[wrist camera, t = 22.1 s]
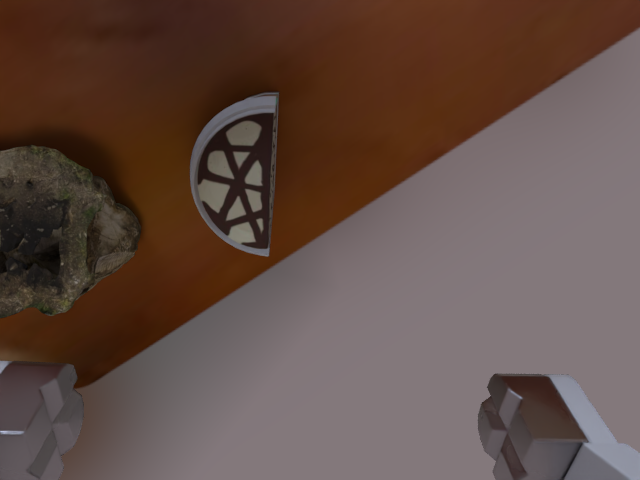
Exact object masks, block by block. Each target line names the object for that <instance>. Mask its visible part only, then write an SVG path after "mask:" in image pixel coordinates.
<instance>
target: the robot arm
mask: <svg viewBox="0 0 640 480" xmlns="http://www.w3.org/2000/svg"><path fill="white" fill-rule="evenodd" d="M76 380H77V375H76V372H75V368H74V365H71V364H66V363H46V362H25V361H0V480H59V478H60V476H61V473H62V471H63V469H64V466H63V463H62V459H61V456H62V455H63V454H64V453H66V452H67V451H68V450H70V449H71V448H72V447H73V446H74V445H75V443H76V440H77V438H78V436H79V434H80V431H81V426H82V421H83V417H84V404H83V400H82V395H81V394H80V393H78V392H77V391H76V390H75V389H74V388H73V386H74V384H75V382H76ZM487 388H488V390H489V393H490V395H491V396H490V397H489V398H488V399H486V400H485V401H484V402H482V404H481V407H480V411H479V414H478V430H479V435H480V440H481V442H482V445H483V448H484V450H485V452H486V453H487V454H489V455H490V456H491V457H492V458H493V459H494V460H496V464H495V466H494V469H493V474H494V476H495V479H496V480H640V453H639V452H637V451H636V450H634V449H633V448H632V447H630V446H629V445H627V444H621V443H618V442H617V441H616V439H615V438H614V436H613V435H612V433H611V432H610V430H609V429H608V427H607V426H606V424H605V423H604V421H603V420H602V418H601V417H600V416H599V414H598V413H597V411H596V410H595V408H594V407H593V405H592V404H591V402H590V401H589V399H588V398H587V396H586V395H585V393H584V392H583V390H582V389H581V388H580V386H579V385H578V383H577V382H576V380H575V379H574V378H573V377H571V376H570V375H554V374H544V375H541V374H494V375H493V376H492V377H491V379H490V381H489V384H488V387H487Z"/></svg>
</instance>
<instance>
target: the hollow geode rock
mask: <svg viewBox="0 0 640 480" xmlns="http://www.w3.org/2000/svg"><path fill="white" fill-rule="evenodd" d="M140 233H141V226H140V224H139V221H138V218H137V217H136V216H135V215H134V214H133V212H132V211H131V210H130V209H129V208H127V207H125V206H124V205H122V204H120V203H116V202H115V199H114V196H113V194H112V191H111V189H110V188H109V187H108V185H107V184H106V182H105V180H104V179H103V178H102V177H99V176H93V174H92V173H91V171H90V169H87V168H85V167H83V166H80V165H78V164H76V163H75V162H74V161H72V160H70V159H68V158H67V157H66V156H65V155H63V154H62V153H61V152H60V151H58V150H56V149H50V148H47V147H44V146H41V147H37V146H34V145H29V146H23V147H16V148H12V149H9V150H5V151H0V318H3V317H7V316H10V315H13V314H16V313H18V312H20V311H22V310H24V309H26V308H28V307H35V308H38V310H39V311H40V312H41V313H44V314H47V315H50V316H53V315H55V314H58V313H61V312H66V311H68V310H69V309H70V308H72V307H73V304H74V301H75V300H77V299H78V298H79V297H80V296H82V295H83V294H85V293H87V291H89V290H90V289H91V288H93V287H94V286H95V285H96V284H97V283H98V282H99V281H101V280H102V279H103V278H105V277H107V276H109V275H110V274H112V273H114V272H116V271H117V270H118V269H119V268H121V266H122V265H123V264H125V263H127V262H128V261H129V260H130V259H131V258H132V257H133V256H134V255H135V251H136V250H137V248H138V245H137V243H138V241H139V239H140Z"/></svg>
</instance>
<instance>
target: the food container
mask: <svg viewBox="0 0 640 480" xmlns="http://www.w3.org/2000/svg"><path fill="white" fill-rule="evenodd" d="M278 102H279V92H263V93H260V94H256V95H253V96H250V97H247V98H246V99H245V100H243V101H240V102H237V103H235V104H233V105H231V106H229V107H227V108H225V109H224V110H222V111H221V112H220V113H218V114H217V115H216V116H215V117H213V118H212V119H211V121H210V122H209V123H208V124H207V125H206V126H205V127H204V129H203V130H202V132H201V133H200V135H199V137H198V138H197V141H196V143H195V146H194V148H193V151H192V156H191V161H190V182H191V189H192V195H193V198H194V201H195V204H196V206H197V208H198V210H199V212H200V214H201V216H202V217H203V219H204V220H205V221H206V223H207V224H208V226H209V227H210V228H211V229H212V230H213V231H214V232H215V233H216V234H217V235H218V236H219V237H220V238H222V239H223V240H224V241H225V242H227V243H229V244H230V245H232V246H234V247H236V248H238V249H240V250H243V251H245V252H248V253H252V254H256V255H261V256H269V251H270V237H271V226H272V214H273V203H274V191H275V169H276V146H277V124H278Z"/></svg>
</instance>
